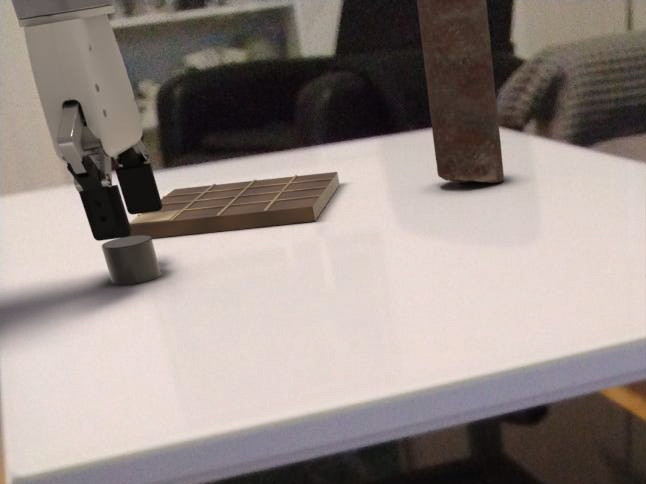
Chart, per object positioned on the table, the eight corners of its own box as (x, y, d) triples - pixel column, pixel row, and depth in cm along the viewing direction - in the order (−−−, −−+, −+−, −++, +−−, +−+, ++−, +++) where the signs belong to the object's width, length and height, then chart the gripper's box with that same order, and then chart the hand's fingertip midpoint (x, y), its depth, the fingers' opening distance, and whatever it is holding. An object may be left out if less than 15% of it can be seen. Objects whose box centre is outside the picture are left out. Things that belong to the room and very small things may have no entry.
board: (128, 240, 107) (123, 224, 106) (177, 202, 124) (173, 188, 123) (315, 221, 106) (312, 205, 105) (339, 185, 123) (337, 170, 122)
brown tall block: (454, 193, 111) (431, -25, 100) (426, 185, 116) (401, -22, 105) (515, 181, 113) (500, -34, 102) (485, 174, 119) (467, -31, 108)
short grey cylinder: (105, 286, 91) (94, 249, 89) (120, 274, 95) (110, 238, 93) (153, 282, 91) (143, 244, 89) (166, 269, 94) (157, 233, 93)
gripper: (55, 0, 88) (119, 208, 98) (-29, 13, 74) (55, 255, 84) (138, -13, 88) (195, 198, 97) (70, -3, 73) (144, 243, 83)
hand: (130, 224), depth 91 cm, fingers open, 9 cm apart
